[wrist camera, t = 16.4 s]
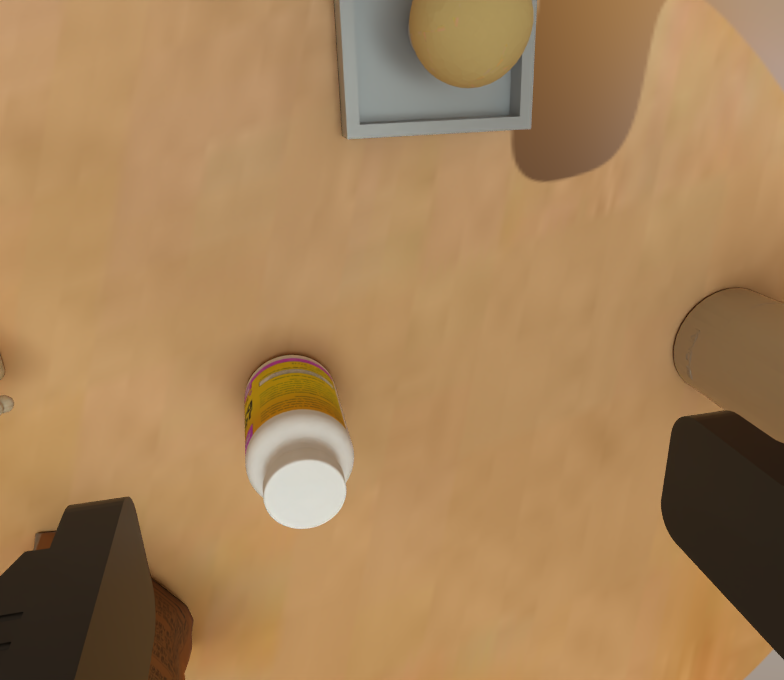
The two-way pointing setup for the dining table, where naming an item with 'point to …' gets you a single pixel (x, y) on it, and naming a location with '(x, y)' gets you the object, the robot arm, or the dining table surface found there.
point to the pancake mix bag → (159, 628)
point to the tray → (416, 81)
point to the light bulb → (469, 38)
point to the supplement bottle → (297, 441)
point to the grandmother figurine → (4, 402)
